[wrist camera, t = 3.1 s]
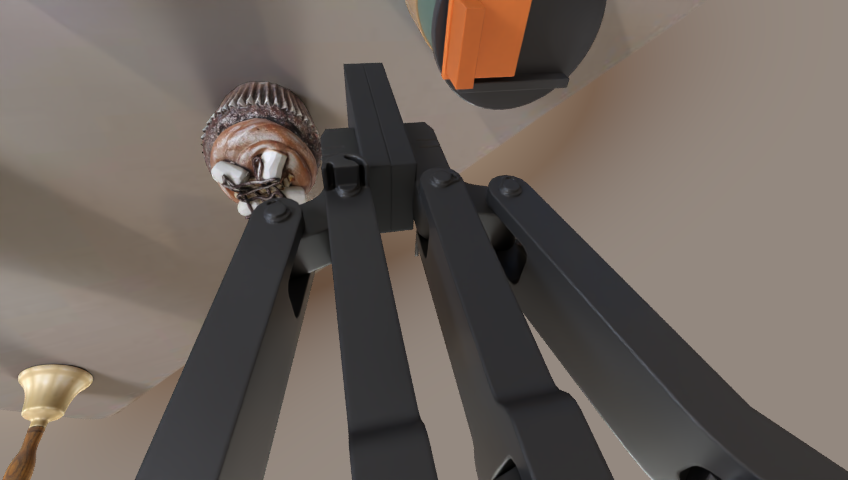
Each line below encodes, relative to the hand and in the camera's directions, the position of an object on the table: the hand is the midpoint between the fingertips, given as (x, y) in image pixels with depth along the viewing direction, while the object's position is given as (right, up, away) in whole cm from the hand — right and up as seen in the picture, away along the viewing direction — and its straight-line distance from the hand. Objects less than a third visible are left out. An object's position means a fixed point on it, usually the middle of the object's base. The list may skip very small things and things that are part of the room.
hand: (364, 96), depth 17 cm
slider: (+6, +6, +6) cm, 10 cm away
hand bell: (-50, -26, +42) cm, 70 cm away
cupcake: (-12, +5, +21) cm, 25 cm away
